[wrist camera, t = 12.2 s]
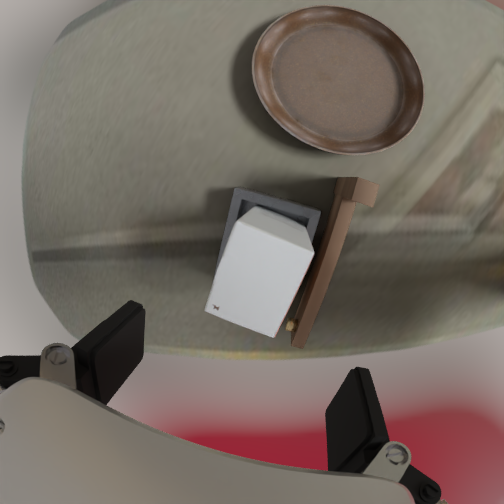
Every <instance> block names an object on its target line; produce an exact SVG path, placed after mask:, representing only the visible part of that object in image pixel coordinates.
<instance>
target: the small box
mask: <svg viewBox="0 0 504 504" xmlns="http://www.w3.org/2000/svg"><path fill="white" fill-rule="evenodd" d="M314 254H315V253H314V250H313V247H312V244H311V241H310V238H309V235H308V232H307V230H306V227H305V224H303V223H301V222H298V221H296V220H294V219H291V218H289V217H286V216H284V215H281V214H279V213H276V212H274V211H271V210H269V209H266V208H264V207H261V206H259V205H255V206H254V207H253V208H252V209H251V210H249V211H248V212H247V213H246V214H244V215H243V216H242V217H241V218H239V219H238V220H237V221H236V222H235V224H234V226H233V229H232V231H231V234H230V237H229V239H228V242H227V245H226V247H225V250H224V253H223V255H222V258H221V261H220V263H219V266H218V268H217V271H216V275H215V277H214V281H213V285H212V288H211V291H210V294H209V297H208V300H207V304H206V307H205V312H208V313H211V314H213V315H215V316H218V317H220V318H222V319H225V320H227V321H230V322H232V323H235V324H237V325H240V326H243V327H245V328H248V329H251V330H253V331H256V332H259V333H261V334H264V335H267V336H270V337H272V338H274V337H275V336H276V334H277V332H278V330H279V328H280V326H281V324H282V322H283V320H284V318H285V316H286V314H287V312H288V310H289V308H290V306H291V304H292V302H293V300H294V298H295V296H296V294H297V291H298V289H299V287H300V285H301V283H302V281H303V278H304V276H305V274H306V272H307V270H308V268H309V265H310V263H311V261H312V259H313V256H314Z"/></svg>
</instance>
